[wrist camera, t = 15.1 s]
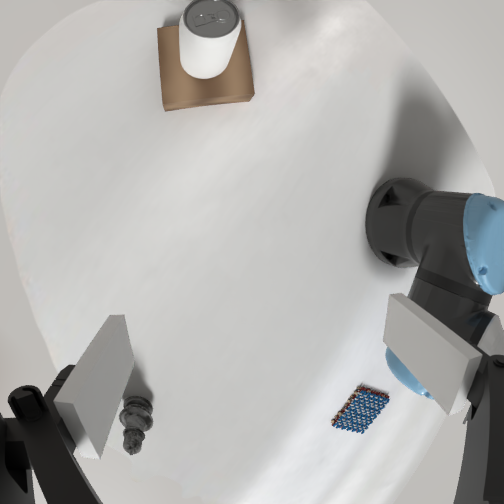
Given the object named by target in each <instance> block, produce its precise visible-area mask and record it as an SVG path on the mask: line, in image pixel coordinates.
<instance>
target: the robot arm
mask: <svg viewBox="0 0 504 504" xmlns="http://www.w3.org/2000/svg"><path fill="white" fill-rule="evenodd" d="M366 234H367V238H368V242H369V244H370V247H371V249H372V250H373V252H374V253H375V255H376V256H377V257H378V258H379V259H381V260H382V261H383V262H385V263H388V264H390V265H392V266H395V267H400V268H407V267H416V266H419V267H418V270H417V273H416V276H415V278H414V281H413V284H412V286H411V289H410V292H409V294H408V297H406V296H405V295H404V294H402V293H397V294H390V295H389V301H388V309H387V317H386V324H385V331H384V337H383V342H384V343H385V344H386V345H387V346H388V347H387V349H386V360H387V364H388V366H389V368H390V370H391V371H392V373H393V374H394V375H395V377H396V378H397V379H398V380H399V381H400V382H402V383H403V384H404V385H405V386H406V387H408V388H409V389H411V390H412V391H414V392H415V393H417V394H419V395H425V396H426V397H427V398H429V399H434V400H435V401H436V402H437V403H438V404H439V405H440V406H441V408H442V409H443V410H444V411H445V412H446V413H447V415H452V414H454V413H457V412H459V411H461V410H462V409H463V407H464V404H465V402H466V399H468V400H469V401H470V402H471V406H470V408H469V410H468V412H467V415H466V417H465V419H464V422H463V424H465V423H466V421H467V420H468V422H467V432H466V440H465V447H464V454H463V460H462V466H461V472H460V477H459V482H458V486H457V491H456V496H455V500H454V504H504V330H503V328H502V325H501V322H500V319H499V316H498V315H496V314H494V313H492V312H489V311H488V306H489V304H490V301H491V298H492V296H493V295H497V294H501V293H503V292H504V201H503V200H501V199H499V198H496V197H490V196H485V195H484V194H480V193H474V194H471V193H459V192H446V191H435V190H433V189H432V188H430V187H428V186H427V185H425V184H423V183H421V182H420V181H417V180H414V179H409V178H397V179H393V180H390V181H388V182H386V183H385V184H383V185H382V186H381V187H380V188H379V189H378V190H377V191H376V193H375V194H374V196H373V198H372V200H371V202H370V204H369V207H368V210H367V215H366ZM134 365H135V361H134V357H133V352H132V348H131V344H130V340H129V335H128V331H127V326H126V321H125V316H124V315H109V317H108V318H107V320H106V321H105V323H104V324H103V325H102V327H101V328H100V330H99V331H98V333H97V334H96V336H95V337H94V339H93V340H92V342H91V343H90V345H89V346H88V347H87V349H86V350H85V352H84V353H83V355H82V357H81V358H80V360H79V361H78V363H77V364H76V365H68V366H67V367H65V368H64V369H63V370H61V371H60V373H59V374H58V376H57V377H56V380H54V382H53V383H52V386H50V388H49V389H48V391H47V392H46V394H45V395H44V397H43V396H42V393H41V391H40V390H39V389H38V388H37V387H35V386H32V385H26V386H21V387H19V388H17V389H15V390H14V391H13V392H11V393H10V395H9V397H8V403H9V405H10V407H11V409H12V411H13V413H14V415H15V417H16V418H3V417H2V415H1V413H0V504H35V499H34V490H33V480H32V470H34V472H35V475H36V478H37V480H38V483H39V485H40V487H41V490H42V492H43V494H44V497H45V499H46V501H47V503H48V504H103V503H102V502H101V500H100V499H99V497H98V496H97V494H96V492H95V491H94V489H93V488H92V486H91V484H90V483H89V481H88V479H87V478H86V476H85V474H84V473H83V471H82V469H81V468H80V466H79V464H78V462H77V461H76V459H75V457H74V455H73V453H74V450H75V448H76V447H77V449H78V451H79V453H80V454H81V456H82V457H87V458H94V459H101V455H102V453H103V450H104V446H105V444H106V441H107V438H108V435H109V432H110V429H111V426H112V423H113V421H114V418H115V415H116V412H117V409H118V407H119V404H120V401H121V399H122V396H123V393H124V391H125V388H126V385H127V383H128V380H129V377H130V375H131V372H132V370H133V367H134Z"/></svg>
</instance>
